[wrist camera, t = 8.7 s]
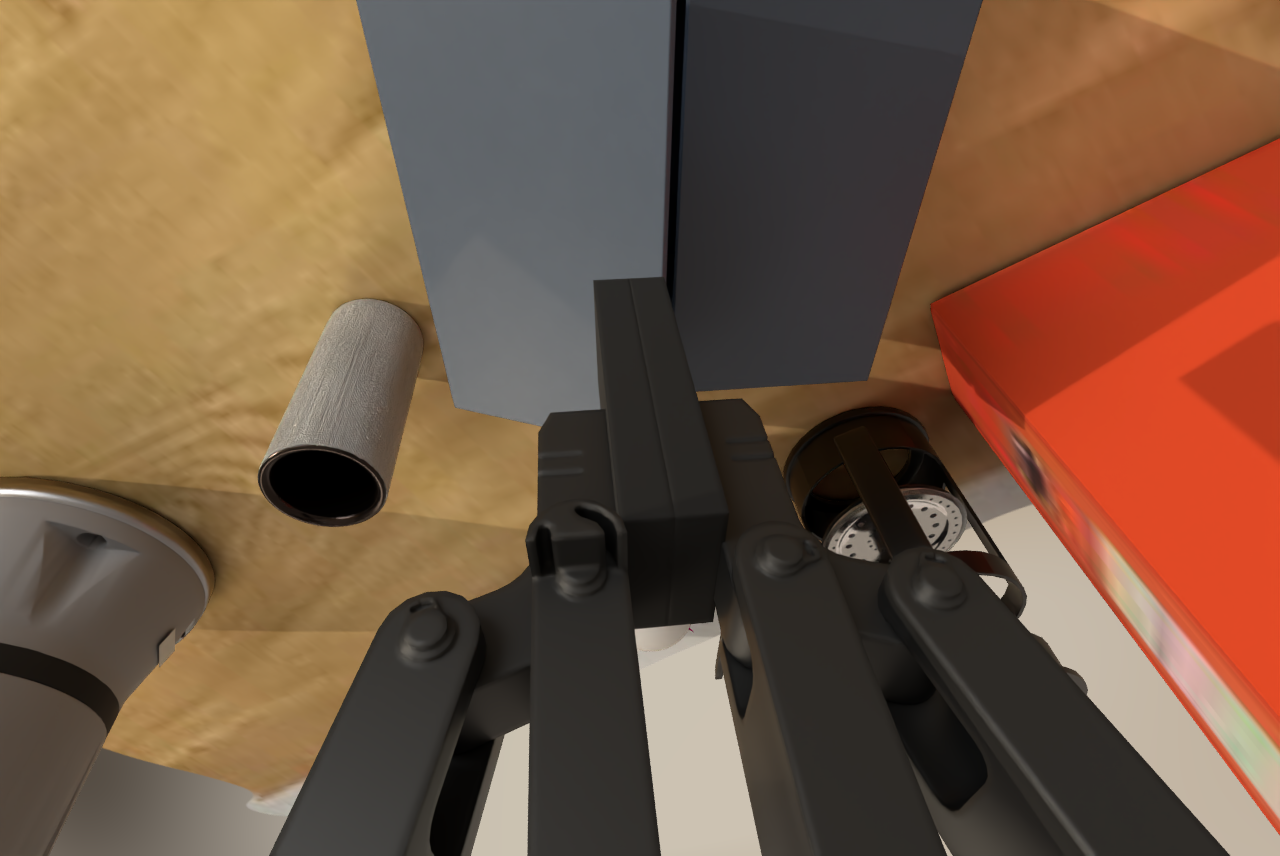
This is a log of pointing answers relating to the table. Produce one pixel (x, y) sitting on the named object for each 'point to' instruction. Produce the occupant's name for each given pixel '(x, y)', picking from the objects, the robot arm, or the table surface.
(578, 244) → the flap
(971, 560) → the french press
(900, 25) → the carton
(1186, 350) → the file binder
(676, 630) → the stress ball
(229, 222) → the table surface
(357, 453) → the gray hollow cylinder
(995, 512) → the table surface
